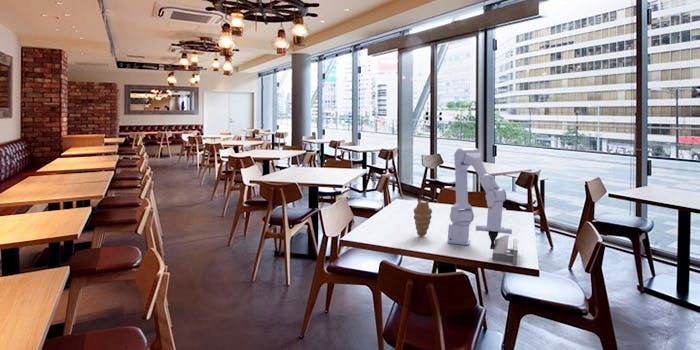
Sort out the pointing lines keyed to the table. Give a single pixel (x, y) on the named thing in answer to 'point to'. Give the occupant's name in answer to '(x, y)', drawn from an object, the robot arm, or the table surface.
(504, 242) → the white wedge bracket
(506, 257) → the socket bay
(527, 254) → the table surface
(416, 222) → the cat ice cream
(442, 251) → the table surface
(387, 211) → the table surface
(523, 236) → the table surface
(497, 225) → the robot arm
